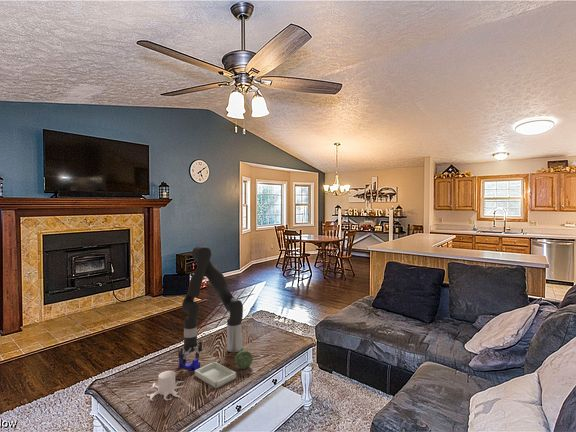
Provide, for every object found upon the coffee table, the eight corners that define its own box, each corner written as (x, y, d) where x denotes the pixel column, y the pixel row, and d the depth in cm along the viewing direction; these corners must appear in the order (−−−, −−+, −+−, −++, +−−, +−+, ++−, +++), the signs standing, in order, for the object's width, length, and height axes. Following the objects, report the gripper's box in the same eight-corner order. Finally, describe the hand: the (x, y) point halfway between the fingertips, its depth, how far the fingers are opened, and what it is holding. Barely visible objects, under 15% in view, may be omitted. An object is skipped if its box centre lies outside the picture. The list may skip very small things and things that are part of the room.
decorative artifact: (251, 365, 187) (251, 348, 186) (254, 370, 180) (254, 353, 180) (234, 368, 183) (234, 351, 183) (237, 374, 176) (237, 356, 176)
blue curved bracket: (200, 367, 184) (200, 357, 184) (194, 371, 180) (194, 360, 180) (184, 363, 189) (184, 353, 189) (179, 366, 185) (179, 356, 185)
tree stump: (193, 381, 170) (193, 366, 169) (174, 403, 150) (174, 386, 150) (159, 378, 173) (159, 363, 173) (136, 399, 154) (136, 382, 154)
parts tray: (215, 366, 185) (215, 361, 185) (236, 378, 172) (236, 372, 172) (194, 375, 175) (194, 370, 175) (215, 388, 162) (215, 383, 162)
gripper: (197, 329, 193) (197, 356, 193) (176, 336, 183) (175, 364, 183) (204, 332, 188) (204, 359, 188) (182, 340, 178) (182, 368, 178)
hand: (190, 362), depth 186 cm, fingers open, 8 cm apart
